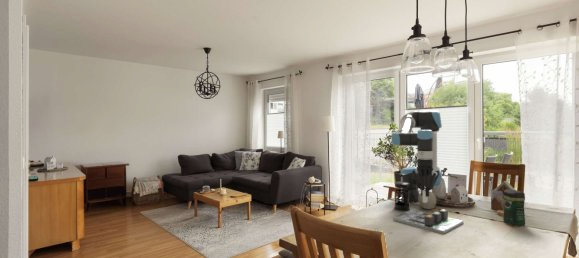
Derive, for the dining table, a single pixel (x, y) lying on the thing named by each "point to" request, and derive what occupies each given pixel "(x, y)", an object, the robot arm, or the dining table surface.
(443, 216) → the breaker back
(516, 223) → the coffee jar
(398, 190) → the french press
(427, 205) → the fruit
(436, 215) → the breaker middle
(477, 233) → the dining table surface
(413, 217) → the panel
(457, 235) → the dining table surface
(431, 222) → the orange and grey switch
